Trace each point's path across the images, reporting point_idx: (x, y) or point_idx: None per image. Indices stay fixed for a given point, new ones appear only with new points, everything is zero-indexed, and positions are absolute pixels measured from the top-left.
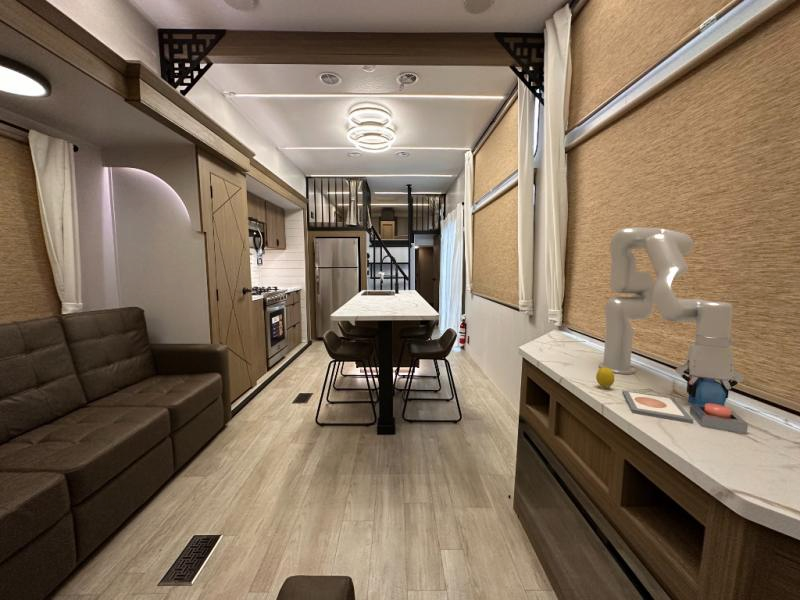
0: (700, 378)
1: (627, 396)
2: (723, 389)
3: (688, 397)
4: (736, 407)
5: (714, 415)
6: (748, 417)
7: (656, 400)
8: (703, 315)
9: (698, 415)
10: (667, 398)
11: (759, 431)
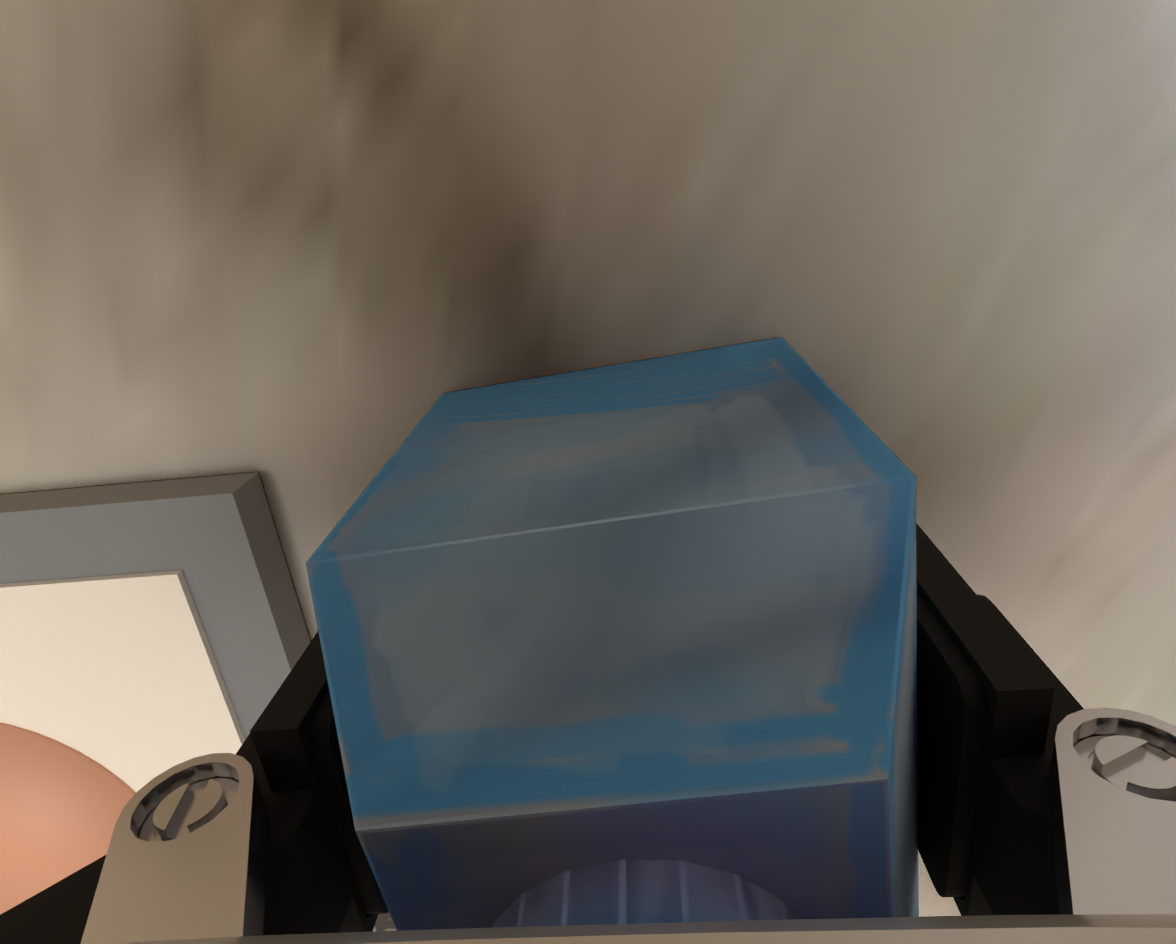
0: (469, 856)
1: None
2: (945, 892)
3: (421, 423)
4: (1153, 223)
5: None
6: (1072, 614)
7: (52, 772)
8: None
9: None
10: (153, 606)
11: None
